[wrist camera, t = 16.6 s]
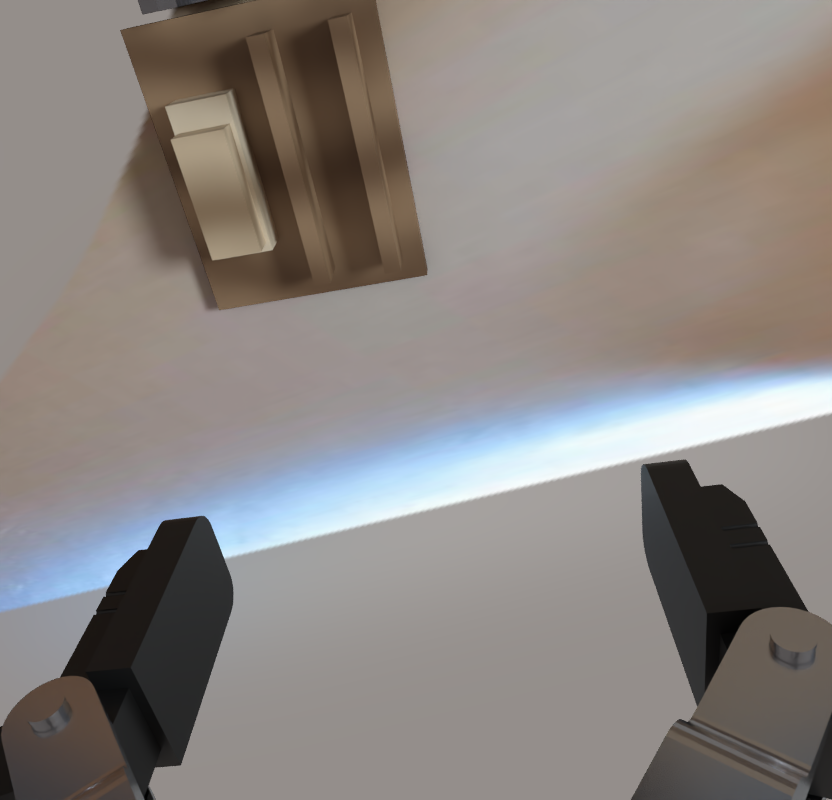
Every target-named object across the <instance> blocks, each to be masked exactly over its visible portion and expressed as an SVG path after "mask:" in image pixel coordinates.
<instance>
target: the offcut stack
mask: <svg viewBox="0 0 832 800" xmlns="http://www.w3.org/2000/svg"><path fill="white" fill-rule="evenodd" d="M165 108H166V111H167V114H168V117H169V120H170V123H171V126H172V129H173V132H174V135H175V137H173V138H172V139H171V143H172V145H173V148H174V151H175V154H176V157H177V160H178V163H179V166H180V169H181V171H182V174H183V177H184V180H185V183H186V186H187V189H188V192H189V195H190V197H191V200H192V203H193V206H194V209H195V212H196V215H197V218H198V221H199V223H200V226H201V229H202V232H203V235H204V238H205V241H206V244H207V247H208V249H209V252H210V255H211V258H212V260H220V259H226V258H231V257H237V256H243V255H248V254H254V253H260V252H265V251H271V250H273V248H274V246H275V245H276V243H277V241H278V236H277V232H276V229H275V225H274V222H273V219H272V215H271V212H270V208H269V205H268V202H267V198H266V195H265V191H264V188H263V185H262V181H261V178H260V174H259V171H258V168H257V164H256V161H255V157H254V154H253V151H252V147H251V144H250V140H249V137H248V134H247V130H246V127H245V123H244V120H243V117H242V113H241V110H240V106H239V103H238V100H237V96H236V93H235V89H234V88H233V89H228V90H223V91H218V92H213V93H208V94H204V95H199V96H194V97H189V98H184V99H179V100H175V101H174V102H172V103H170V104H169V105H167V106H165Z"/></svg>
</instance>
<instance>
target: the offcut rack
mask: <svg viewBox="0 0 832 800" xmlns="http://www.w3.org/2000/svg"><path fill="white" fill-rule="evenodd" d="M120 31H121V34H122V36H123V39H124V42H125V45H126V48H127V50H128V53H129V56H130V59H131V62H132V65H133V67H134V70H135V73H136V76H137V79H138V82H139V84H140V87H141V90H142V93H143V96H144V98H145V101H146V104H147V107H148V110H149V113H150V116H151V118H152V121H153V124H154V127H155V130H156V132H157V135H158V138H159V141H160V144H161V147H162V149H163V152H164V155H165V158H166V161H167V164H168V166H169V169H170V172H171V175H172V178H173V181H174V183H175V186H176V189H177V192H178V195H179V197H180V200H181V203H182V206H183V209H184V212H185V214H186V217H187V220H188V223H189V226H190V229H191V231H192V234H193V237H194V240H195V243H196V246H197V248H198V251H199V254H200V257H201V260H202V262H203V265H204V268H205V271H206V274H207V277H208V279H209V282H210V285H211V288H212V291H213V294H214V296H215V299H216V302H217V305H218V308H219V310H223V309H229V308H235V307H241V306H247V305H253V304H258V303H264V302H270V301H276V300H282V299H288V298H294V297H300V296H306V295H312V294H318V293H324V292H329V291H335V290H341V289H347V288H353V287H359V286H365V285H371V284H377V283H383V282H389V281H395V280H401V279H406V278H412V277H418V276H424V275H427V265H426V259H425V254H424V249H423V244H422V239H421V233H420V228H419V223H418V218H417V213H416V208H415V202H414V197H413V192H412V187H411V182H410V176H409V171H408V166H407V161H406V156H405V151H404V145H403V140H402V135H401V130H400V125H399V119H398V114H397V109H396V104H395V99H394V94H393V88H392V83H391V78H390V73H389V68H388V62H387V57H386V52H385V47H384V42H383V37H382V31H381V26H380V21H379V16H378V11H377V5H376V0H254V1H250V2H245V3H241V4H236V5H231V6H227V7H222V8H218V9H213V10H209V11H204V12H200V13H195V14H190V15H186V16H181V17H177V18H172V19H168V20H163V21H159V22H155V23H150V24H145V25H140V26H136V27H132V28H127V29H123V30H120ZM233 88H234V89H235V93H236V96H237V100H238V103H239V106H240V110H241V113H242V117H243V120H244V123H245V127H246V130H247V134H248V137H249V140H250V144H251V147H252V151H253V154H254V157H255V161H256V164H257V168H258V171H259V174H260V178H261V181H262V185H263V188H264V191H265V195H266V198H267V202H268V205H269V208H270V212H271V215H272V219H273V222H274V225H275V229H276V232H277V236H278V241H277V243H276V245H275V246H274V248H273V250H271V251H265V252H260V253H254V254H248V255H243V256H237V257H231V258H226V259H220V260H212V258H211V255H210V252H209V249H208V247H207V244H206V241H205V238H204V235H203V232H202V229H201V226H200V223H199V221H198V218H197V215H196V212H195V209H194V206H193V203H192V200H191V197H190V195H189V192H188V189H187V186H186V183H185V180H184V177H183V174H182V171H181V169H180V166H179V163H178V160H177V157H176V154H175V151H174V148H173V145H172V143H171V139H172V138H173V137H175V135H174V132H173V129H172V126H171V123H170V120H169V117H168V114H167V111H166V108H165V106H167V105H169V104H170V103H172V102H174V101H175V100H179V99H184V98H189V97H194V96H199V95H204V94H208V93H213V92H218V91H223V90H228V89H233Z"/></svg>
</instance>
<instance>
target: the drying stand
mask: <svg viewBox="0 0 832 800" xmlns="http://www.w3.org/2000/svg"><path fill="white" fill-rule="evenodd" d="M201 1H206V0H138V2H139V5H140V8H141V11H142V14H147V13H152V12H156V11H162V10H166V9H171V8H175V7H180V6H184V5H188V4H192V3H197V2H201Z"/></svg>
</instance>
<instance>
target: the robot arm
mask: <svg viewBox="0 0 832 800" xmlns="http://www.w3.org/2000/svg"><path fill="white" fill-rule="evenodd" d="M641 492H642V525H643V526H642V527H643V542H644V548H645V554H646V558H647V562H648V566H649V569H650V572H651V575H652V578H653V581H654V584H655V586H656V589H657V592H658V595H659V598H660V601H661V604H662V606H663V609H664V612H665V615H666V618H667V621H668V624H669V627H670V629H671V632H672V635H673V638H674V641H675V644H676V647H677V650H678V652H679V655H680V658H681V661H682V664H683V667H684V670H685V673H686V675H687V678H688V681H689V684H690V687H691V690H692V693H693V695H694V698H695V701H696V704H697V709H696V711H695V712H694V714H693V716H692V718H691V719H690V720H689V721H688V722H686V721H684V720H681V719H679V720H677V721H676V722H675V723H674V724H673V726H672V727H671V728H670V730H669V731H668V733H667V735H666V736H665V738H664V740H663V742H662V744H661V746H660V747H659V749H658V751H657V753H656V755H655V757H654V758H653V760H652V762H651V764H650V766H649V768H648V769H647V771H646V773H645V775H644V777H643V779H642V780H641V782H640V784H639V786H638V788H637V790H636V791H635V793H634V795H633V797H632V799H631V800H826V798H829V799H832V625H831V624H830V623H829V622H827V621H826V620H824V619H822V618H821V617H819V616H817V615H815V614H812V613H810V612H808V610H807V609H806V607H805V605H804V603H803V602H802V600H801V598H800V596H799V594H798V593H797V591H796V589H795V588H794V586H793V584H792V582H791V581H790V579H789V577H788V575H787V574H786V572H785V570H784V568H783V567H782V565H781V563H780V562H779V560H778V558H777V556H776V554H775V553H774V551H773V549H772V547H771V546H770V545H768V542H767V539H766V537H765V535H764V533H763V532H762V530H761V528H760V527H758V525H757V521H756V520H755V518H754V516H753V514H752V513H751V511H750V509H749V507H748V506H747V504H746V502H745V501H744V500H742V499H741V498H740V497H738V496H737V495H736V494H734V493H733V492H732V491H730V490H729V489H728V488H726V487H725V486H724V485H712V486H704V487H700V485H699V483H698V481H697V479H696V477H695V475H694V473H693V471H692V469H691V467H690V465H689V463H688V462H687V460H677V461H668V462H660V463H651V464H643V465H642V468H641ZM232 606H233V584H232V579H231V576H230V573H229V570H228V568H227V565H226V563H225V560H224V557H223V555H222V552H221V549H220V547H219V544H218V542H217V539H216V536H215V534H214V531H213V529H212V526H211V524H210V522H209V520H208V519H207V518H206V517H205V516H198V517H189V518H181V519H172V520H165V521H163V522H162V523H161V524H160V526H159V528H158V530H157V532H156V534H155V536H154V538H153V540H152V541H151V543H150V545H149V547H148V549H146V550H138V551H137V552H136V553H135V554H134V555H133V556H132V557H131V558H130V559H129V560H128V561H127V562H126V563H125V564H124V565H123V566H122V567H121V568H120V569H119V570H118V571H117V573H116V575H115V576H114V578H113V580H112V582H111V584H110V586H109V588H108V589H107V592H106V597H103V599H102V601H101V603H100V604H99V606H98V608H97V610H96V612H97V614H96V615H93V618H92V619H91V621H90V623H89V625H88V627H87V628H86V631H85V632H84V634H83V636H82V638H81V640H80V641H79V643H78V645H77V647H76V649H75V651H74V653H73V655H72V656H71V658H70V660H69V662H68V664H67V666H66V667H65V669H64V671H63V673H62V675H61V677H60V678H57V679H54V680H51V681H49V682H47V683H45V684H42V685H41V686H39V687H37V688H36V689H34V690H32V691H31V692H30V693H28V694H27V695H26V696H25V697H23V698H22V699H21V700H20V701H19V702H18V703H17V704H16V705H15V707H14V708H13V709H12V710H11V712H10V713H9V714H8V716H7V718H6V720H5V722H4V724H3V726H1V727H0V800H156V799H155V796H154V794H153V792H152V790H151V789H150V787H149V782H150V779H151V777H152V774H153V771H154V768H155V767H167V766H178V765H181V763H182V760H183V757H184V754H185V751H186V748H187V745H188V742H189V739H190V736H191V733H192V730H193V727H194V723H195V720H196V717H197V714H198V711H199V708H200V705H201V702H202V699H203V696H204V693H205V690H206V687H207V684H208V681H209V678H210V675H211V671H212V669H213V665H214V662H215V659H216V656H217V653H218V650H219V647H220V644H221V641H222V638H223V635H224V632H225V629H226V626H227V623H228V620H229V617H230V614H231V610H232Z"/></svg>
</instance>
